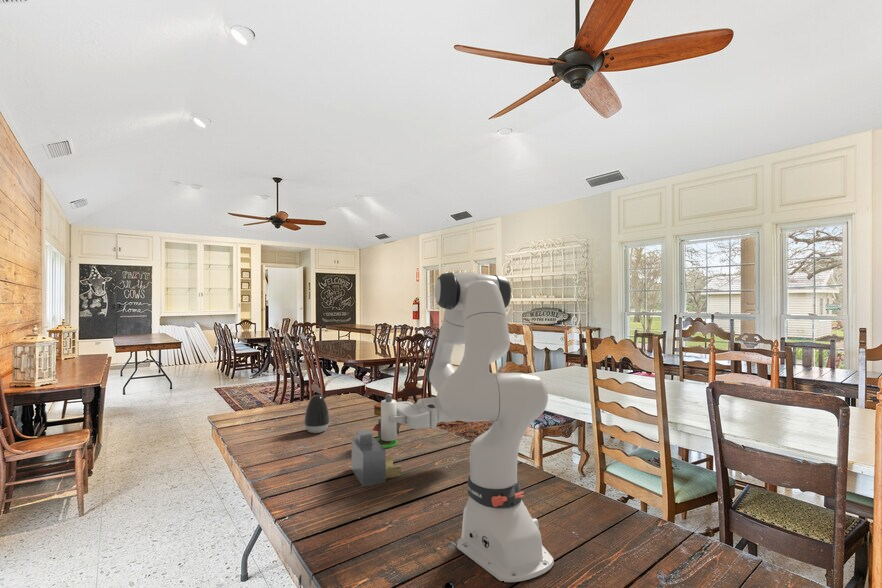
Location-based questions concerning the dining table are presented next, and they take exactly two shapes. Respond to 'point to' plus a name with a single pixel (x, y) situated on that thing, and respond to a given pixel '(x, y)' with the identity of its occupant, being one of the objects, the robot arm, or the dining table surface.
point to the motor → (371, 460)
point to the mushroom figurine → (378, 428)
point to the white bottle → (386, 427)
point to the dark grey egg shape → (317, 415)
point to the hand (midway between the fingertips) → (386, 417)
